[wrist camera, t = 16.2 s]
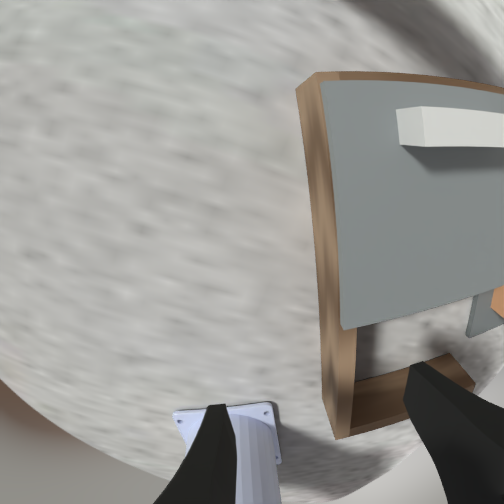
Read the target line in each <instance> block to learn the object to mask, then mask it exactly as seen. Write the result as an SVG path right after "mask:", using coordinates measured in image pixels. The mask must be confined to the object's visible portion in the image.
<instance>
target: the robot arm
mask: <svg viewBox="0 0 504 504" xmlns="http://www.w3.org/2000/svg"><path fill="white" fill-rule="evenodd" d="M403 402H404V405H405V407H406V410H407V412H408V415H409V417H410V420H411V422H412V423H413V425H414V427H415V429H416V431H417V432H418V434H419V436H420V438H421V439H422V441H423V443H424V445H425V447H426V448H427V450H428V452H429V454H430V455H431V457H432V459H433V462H434V464H435V466H436V468H437V471H438V474H439V476H440V479H441V482H442V485H443V488H444V491H445V494H446V497H447V501H448V504H504V408H501V407H499V406H497V405H494V404H492V403H489V402H488V401H486V400H484V399H482V398H480V397H478V396H477V395H475V394H473V393H471V392H469V391H468V390H466V389H464V388H463V387H461V386H460V385H458V384H456V383H455V382H453V381H452V380H450V379H449V378H447V377H446V376H444V375H443V374H441V373H440V372H438V371H437V370H435V369H434V368H433V367H431V366H430V365H428V364H426V363H425V362H423V361H422V362H419V363H416V364H413V365H410V368H409V373H408V378H407V383H406V387H405V392H404V396H403ZM266 411H268V412H266ZM172 417H173V419H174V421H175V424H176V426H177V428H178V430H179V432H180V433H181V435H182V437H183V439H184V441H185V443H186V445H187V446H186V455H185V458H184V460H183V462H182V464H181V465H180V467H179V469H178V471H177V472H176V474H175V475H174V477H173V478H172V480H171V481H170V483H169V484H168V485H167V487H166V488H165V490H164V491H163V492H162V494H161V495H160V496H159V497H158V498H157V499H156V501H155V502H154V503H153V504H282V502H281V495H280V488H279V480H278V473H277V466H276V465H279V464H281V463H282V460H281V454H280V448H279V442H278V436H277V430H276V424H275V419H274V413H273V407H272V404H271V403H269V402H263V403H256V404H249V405H241V406H232V407H226V404H218V405H209V406H208V407H207V409H200V410H185V411H175V412H173V416H172Z"/></svg>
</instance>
